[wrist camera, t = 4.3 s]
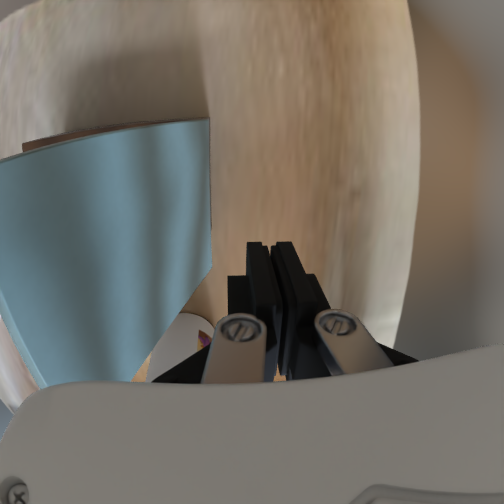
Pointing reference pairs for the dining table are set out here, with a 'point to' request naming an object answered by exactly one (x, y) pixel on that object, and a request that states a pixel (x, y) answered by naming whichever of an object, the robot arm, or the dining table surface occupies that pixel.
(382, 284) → the dining table surface
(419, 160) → the dining table surface
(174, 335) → the milk bottle
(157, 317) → the light blue flat slab
